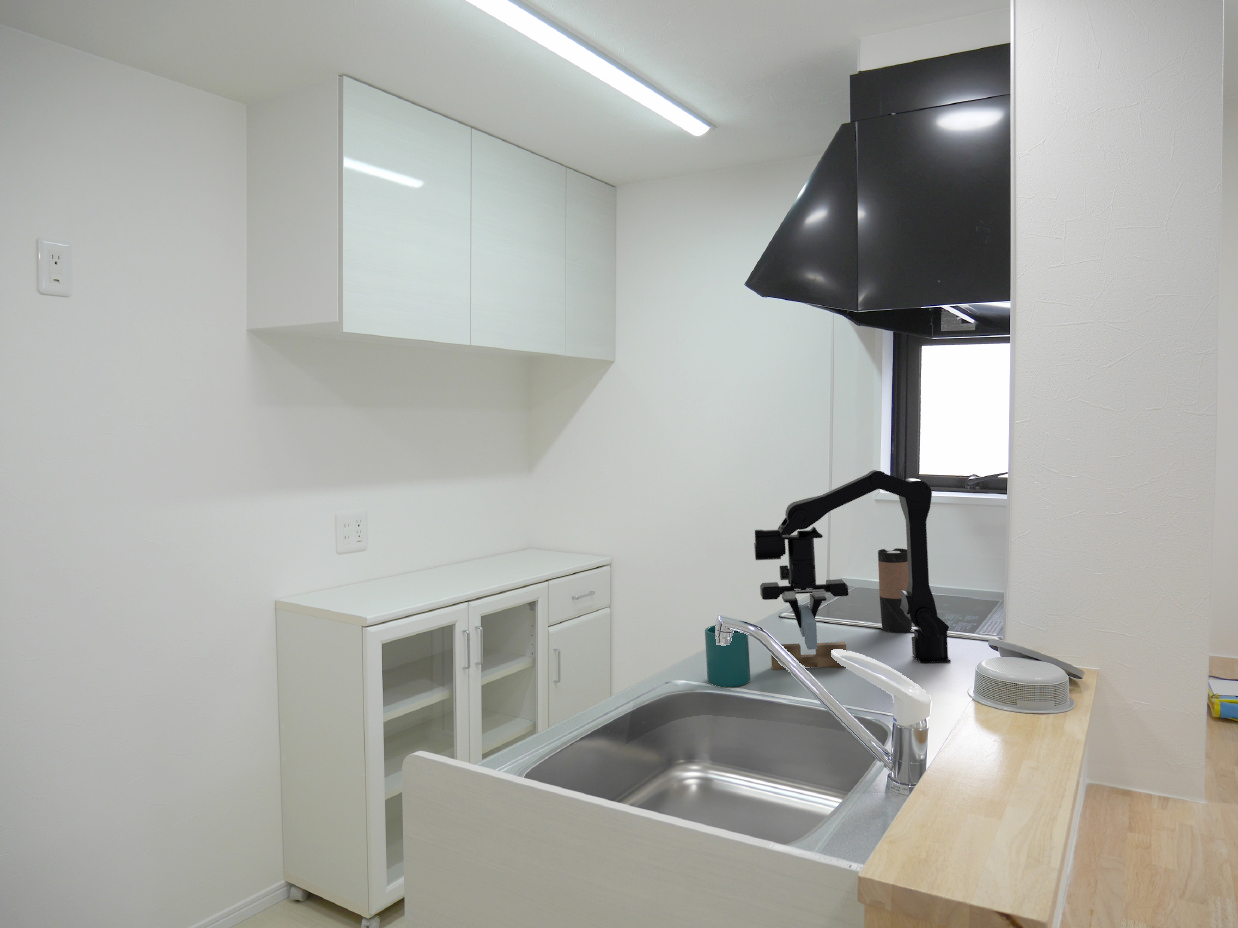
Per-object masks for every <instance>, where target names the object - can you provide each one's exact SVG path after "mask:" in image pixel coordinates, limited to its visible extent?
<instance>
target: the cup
mask: <svg viewBox="0 0 1238 928" xmlns="http://www.w3.org/2000/svg"><path fill="white" fill-rule="evenodd" d="M716 625H717V624H714V625H710V626H708V627H706V628H704V640H705V659H706V675H707V676H706V677H707V681H708V683H709V684H710V683H711V684H710V685H712V684H713V686H714V685H716V686H715V687H718V686H720V687H719V688H737V687H742V686H745V685H747V684H749V682H750V681H751V666H750V665H751V662H750V643H749V634H748V635H746V634H744V633H740V632H738V631H734V633H733V636H732V641H731V643H730V645H726V646H721V645H716V639H715V626H716Z"/></svg>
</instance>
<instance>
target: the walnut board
mask: <svg viewBox="0 0 1238 928" xmlns="http://www.w3.org/2000/svg"><path fill="white" fill-rule="evenodd" d="M780 644H781V645H782V646H784V648H785V649H787V651H788V652H790V653H791V654H792V655H793V656H794V657H795V658H796V659H797V660H798V661H799V663H801V664H802V665H804V666H805V667H810V668H809V669H812V668H811V667H825V668H824V669H828V668H829V669H830V668H831V669H834V668H837V669H838V668H844V667H843V666H841V665H840V664H839V663H837V661H835V660H834V659H833V658H832V657H831V650H833V649H843V650H846V651H847V643H846V642H845V641H840V642H839V641H836V642H833V641H831V642H817V649H815V654H814V653H813V654H812V653H811V654H810V653H809V654H802V653H801V651H802V649H801V644H800V643H787V644H785V643H780ZM770 658H771V659H770V661H771V669H772V671H773V670H786V669H785V668H784V667H783V666H781V665H780V664H779V663H778V661H777V660H776V659H775V658H774V657H773V656H772V655H771V654H770Z"/></svg>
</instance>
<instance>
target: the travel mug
mask: <svg viewBox="0 0 1238 928" xmlns="http://www.w3.org/2000/svg"><path fill="white" fill-rule="evenodd" d="M877 558H878V560H877V564H878V592H879V594H878V595H879V605H880V606H879V607H880V608H879V609H880V618H881V628H882V631H884V632H887V633H893V634H902V633H908V632H909V633H910V632H911V631H912V630H913V623H912V622H911V621H910V620H909V619H908V618H907V617H906V615H905V613H904V611H903V610H902V609H901V608H900V606H901V602H902V600H901V595H900V590H902V591H906V590H907V587H908V582H909V579H908V557H907V548H899V547H898V548H897V547H896V548H893V549H891V550H887V549H885V548H881V549H879V550H878V551H877ZM911 629H912V630H911ZM910 630H911V631H910Z"/></svg>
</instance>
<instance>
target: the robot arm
mask: <svg viewBox="0 0 1238 928" xmlns="http://www.w3.org/2000/svg"><path fill="white" fill-rule="evenodd" d="M877 490H882V491H884V492H887V493H889V494H893V495H896V496H898V499H899V503H900V507H901V510H902V514H903V516H904V520H905V528H906V529H905V531H906V532H905V533H906V549H907V557H908V579H909V582H908V587H907V590H906V591H902V590H900V595H901V600H902V602H901V606H900V608H901V609H902V610H903V611H904V613H905V615H906V617H907V618H908V619H909V620H910V621H911V622H912V625H914V627H916V628H917V629H913V636H911V650H912V653H911V654H912V656H913V655H914V656H915V657H916V658H917V659H918V660H919V661H920V662H919V661H918V660H917V659H916V658H915V657H914V656H913V657H914V658H915V659H916V660H917V661H918V662H919V663H921V664H926V663H951V662H952V661H951V658H950V657H949V652H948V651H949V649H948V632H949V628H950V625H948V624H947V623H946V622H945V621H943V620H942V619H941V618H940V617H939V616H938V611H937V606H936V601H935V598H934V595H933V592H932V589H931V587H930V586H931V585H930V578H929V555H928V554H929V553H928V534H927V533H928V532H927V520H928V516H929V513H930V510H931V503H932V495H933V491H932V488H931V486H930V485H929V484H928V483H927V482H926V481H923V480H921V479H917V478H911V477H910V478H906V479H903V478H898V477H896V476H893V475H890V474H887V473H885V472H884V471H881V470H879V469H873V470H870V471H869V472H867V473H866V474H864V475H862V476H859V477H858V478H856V479H853V480H851V481H848V482H847V483H845V484H842V485H840V486H838V487H836V488H834V489H831V490H829V491H828V492H825V493H823V494H821V495H817V496H811V497H807V498H803V499H800V500H795V501H793V502H791V503H789V504H788V506H787V507H786V509H785V514H784V515H785V517H784V519H783V520H782V522H781V523H780V524H779V526H778V527H777V529H765V530H764V529H754V542H753V543H754V545H753V546H754V559H755V561H772V560H781V559H782V557H784V556H785V555H786V552H787V551H788V552H787V553H788V554H787V555H788V565H779V579H780V581H787V582H788V585H780V584H779V583H778V581H777V582H776V581H773V582H762V583H761V584H760V585H759V590H760V594H759V595H760V597H761V599H762V600H763V601H764V600H765V601H768V600H771V601H773V600H778V599H779V598H780V597H781V598H782V601H783V603H787V604H789V606H790V609H792V613H793V614H794V617H795V620H796V622H797V623H796V624H797V625H798V628H799V629H800V628H801V618H800V612H799V605H800V604H799V599H798V598H797V597H796V596H797V595H800V594H809V608H810V610H811V612H812V614H813V616H814V618H815V619H816V617H817V614H818V611H819V609H820V607H821V604H822V603H823V602H825V601H827V597H826V594H827V593H830V595H832V596H833V597H837V598H838V597H849V585H848V584H847V582H845V581H844V580H843V579H840V578H839V579H836V578H835V579H826V580H825V583H820V584H819V583H818V584H817V575H816V574H817V573H816V572H817V571H816V559H815V558H816V555H815V553H816V552H815V539H823V537H824V536H823V534H822V533H821V532H819V530H818V529H817V528H816V526H812V525H814V524H815V523H817V522H818V521H820V520H821V519H822V518H823V517H824V516H825V515H827V514H828V513H830V512H831V511H833V510H835V509H838V508H840V507H842V506H845V505H846V504H849V503H851V502H852V501H853V502H854V501H855V500H857V499H859V498H862V497H864V496H866V495H868V494H870V493H873V492H875V491H877ZM811 526H812V527H811ZM810 527H811V529H808V528H810ZM795 532H796V533H795ZM794 533H795V534H794ZM786 540H787V548H786ZM786 549H787V550H786Z"/></svg>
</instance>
